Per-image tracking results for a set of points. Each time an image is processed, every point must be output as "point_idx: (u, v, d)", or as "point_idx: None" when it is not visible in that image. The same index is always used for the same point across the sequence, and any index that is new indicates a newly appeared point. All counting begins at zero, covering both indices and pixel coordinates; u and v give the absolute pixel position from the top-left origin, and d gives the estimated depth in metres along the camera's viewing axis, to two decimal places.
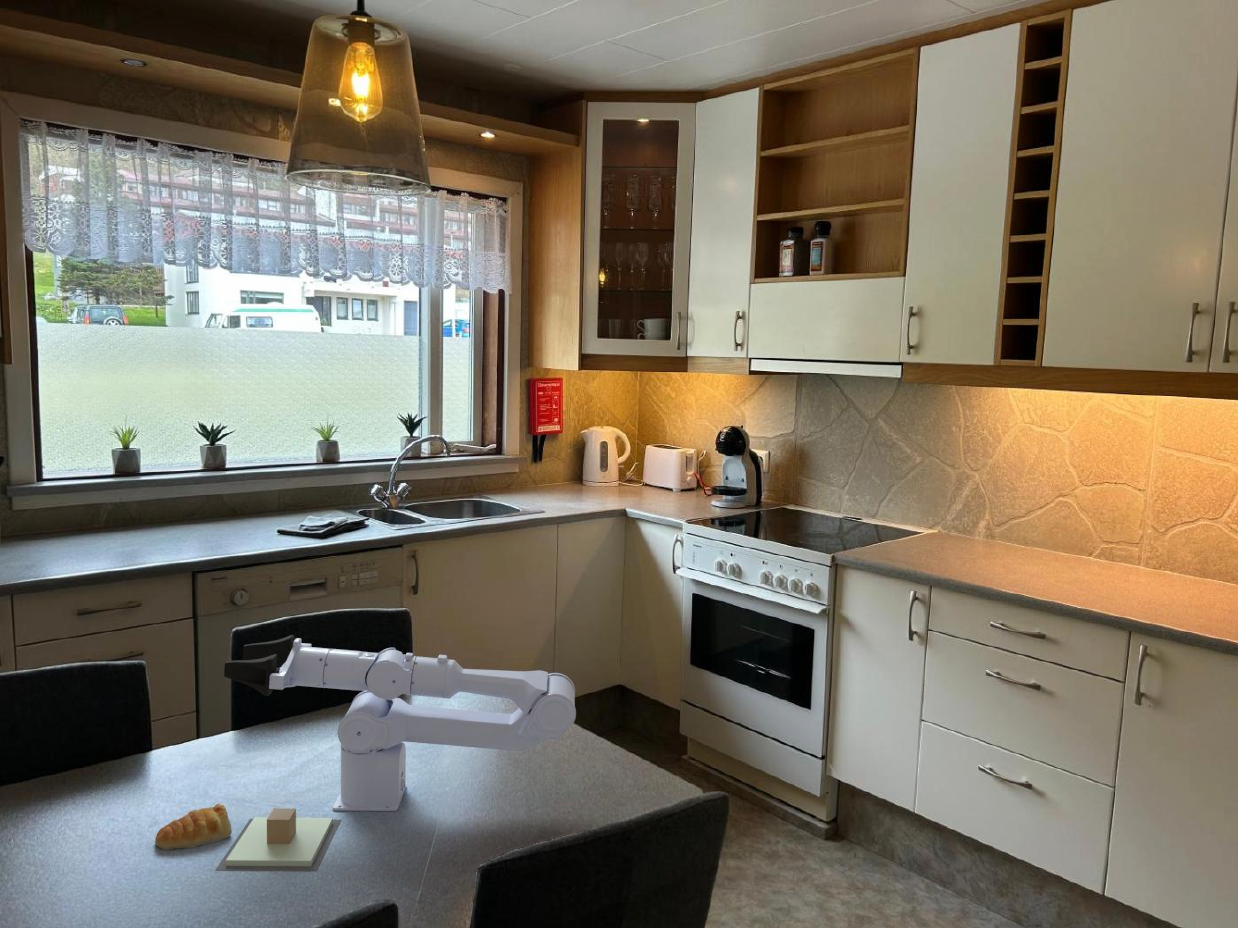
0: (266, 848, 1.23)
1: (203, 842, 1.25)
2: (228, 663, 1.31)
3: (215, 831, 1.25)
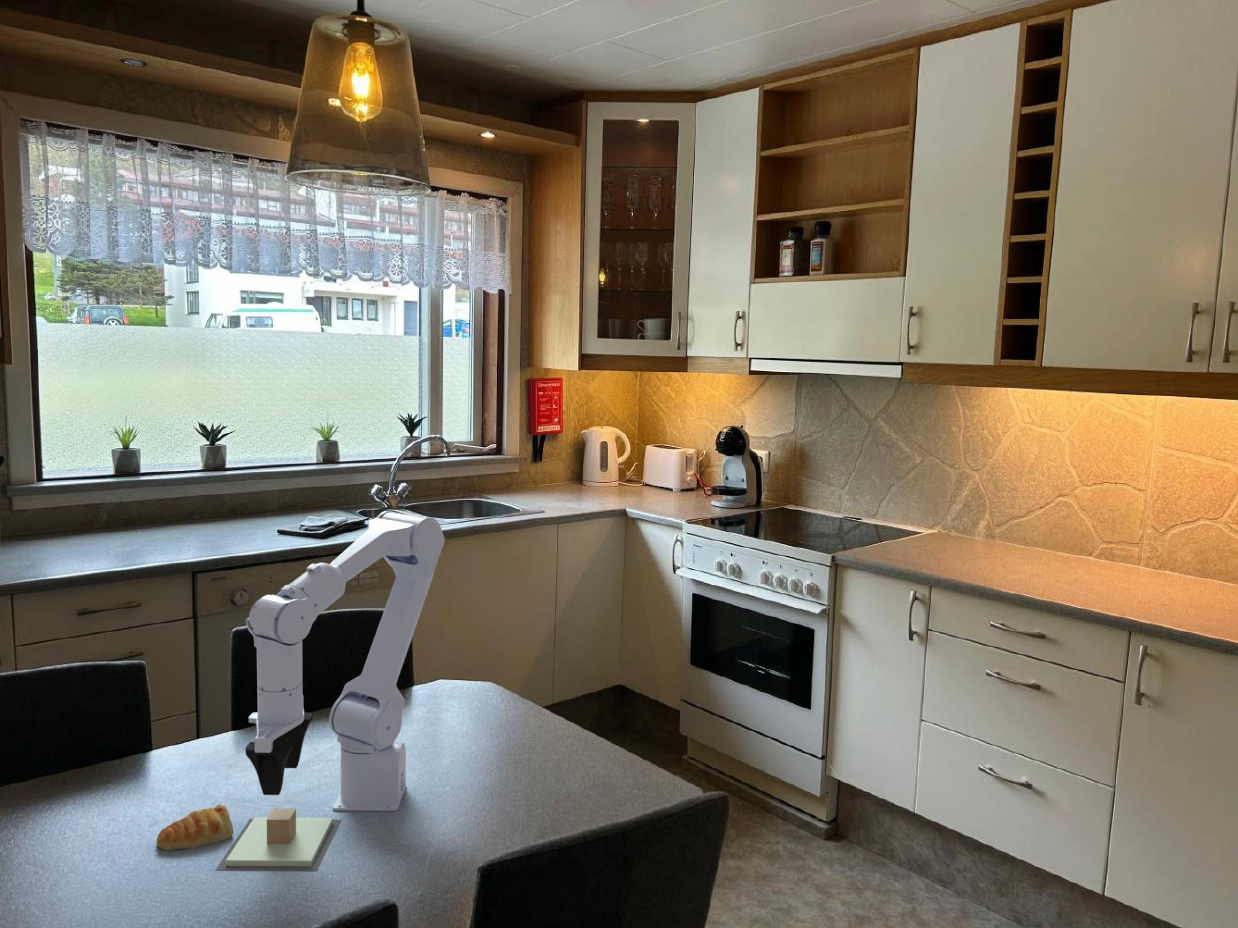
0: (266, 848, 1.23)
1: (205, 843, 1.24)
2: (263, 790, 1.20)
3: (217, 832, 1.25)
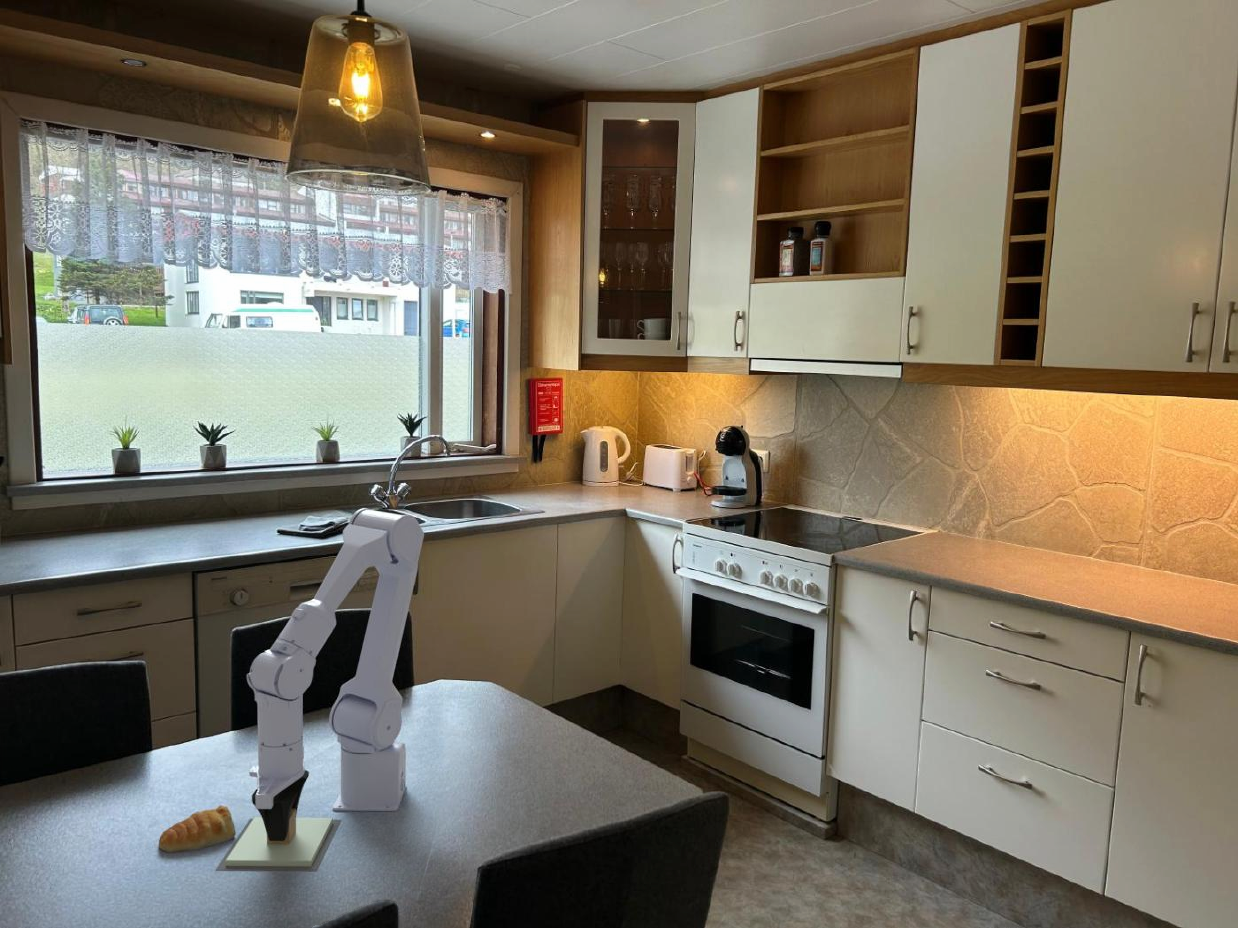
0: (266, 848, 1.23)
1: (207, 844, 1.24)
2: (269, 837, 1.23)
3: (219, 833, 1.25)
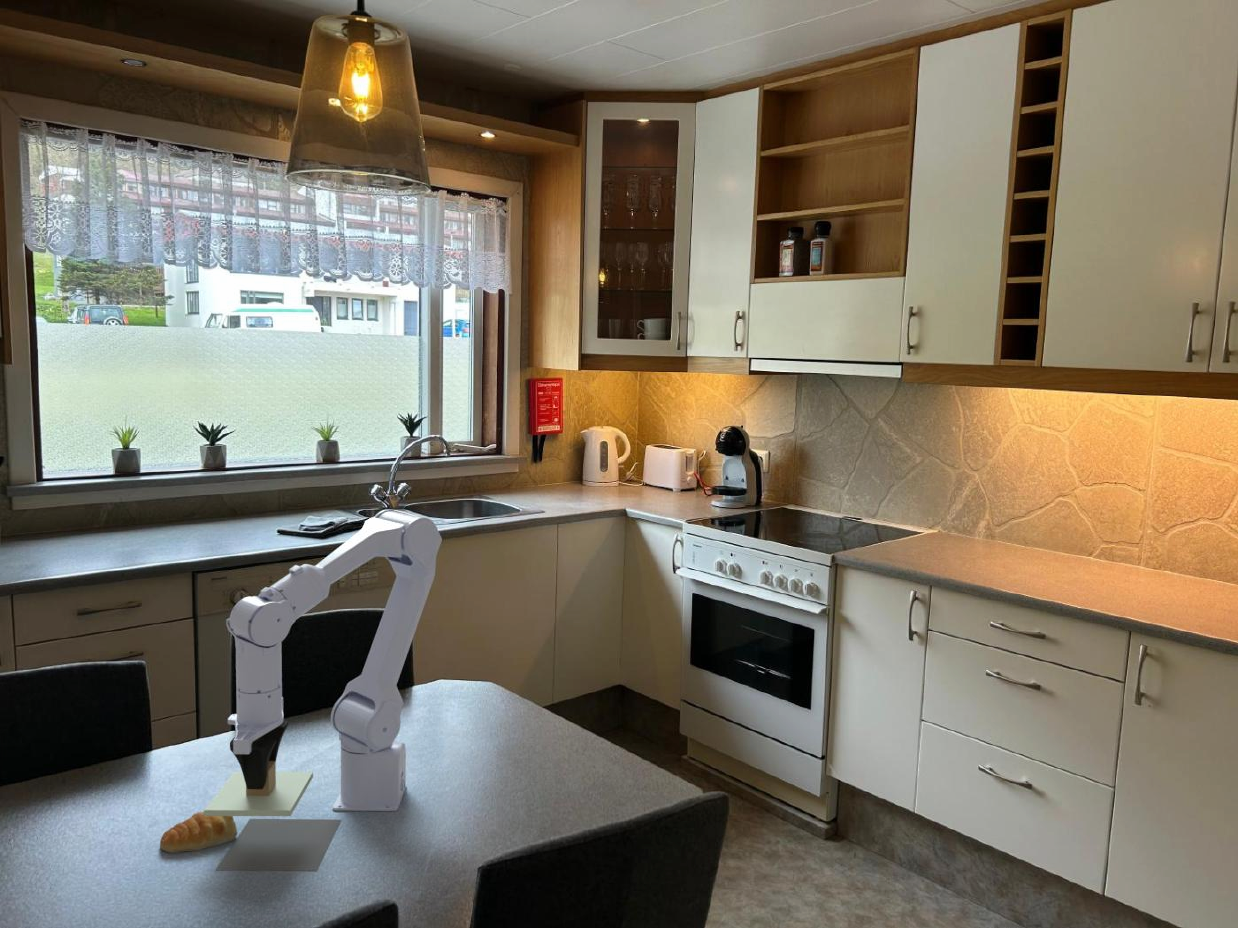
0: (245, 799, 1.22)
1: (209, 845, 1.24)
2: (247, 785, 1.22)
3: (221, 833, 1.25)
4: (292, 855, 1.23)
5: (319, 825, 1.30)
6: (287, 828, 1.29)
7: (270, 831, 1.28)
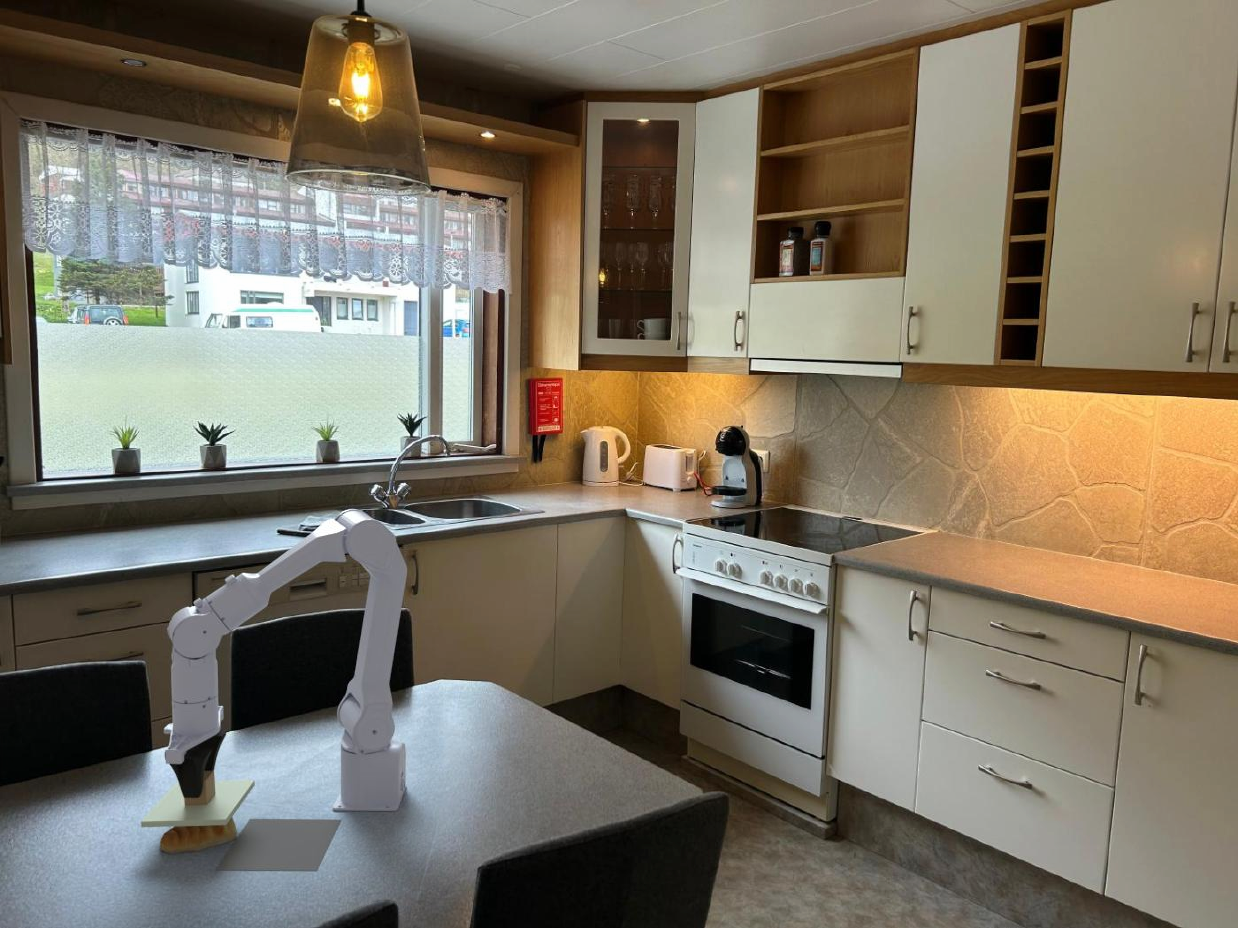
0: (183, 809, 1.24)
1: (209, 845, 1.24)
2: (183, 793, 1.24)
3: (221, 834, 1.25)
4: (292, 855, 1.23)
5: (319, 825, 1.30)
6: (287, 828, 1.29)
7: (270, 831, 1.28)
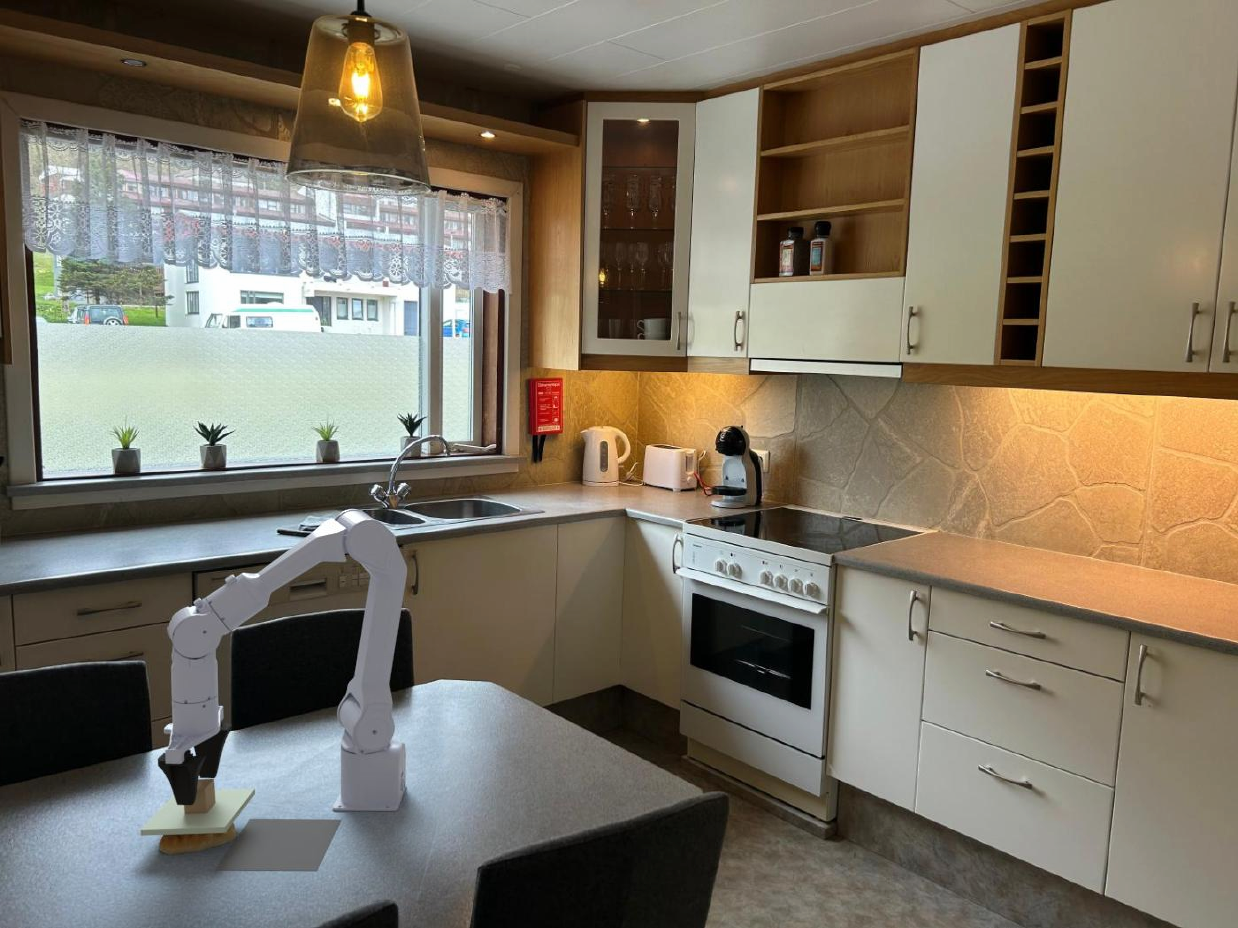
0: (183, 818, 1.23)
1: (208, 846, 1.24)
2: (176, 801, 1.22)
3: (220, 835, 1.24)
4: (292, 855, 1.23)
5: (319, 825, 1.30)
6: (287, 828, 1.29)
7: (270, 831, 1.28)
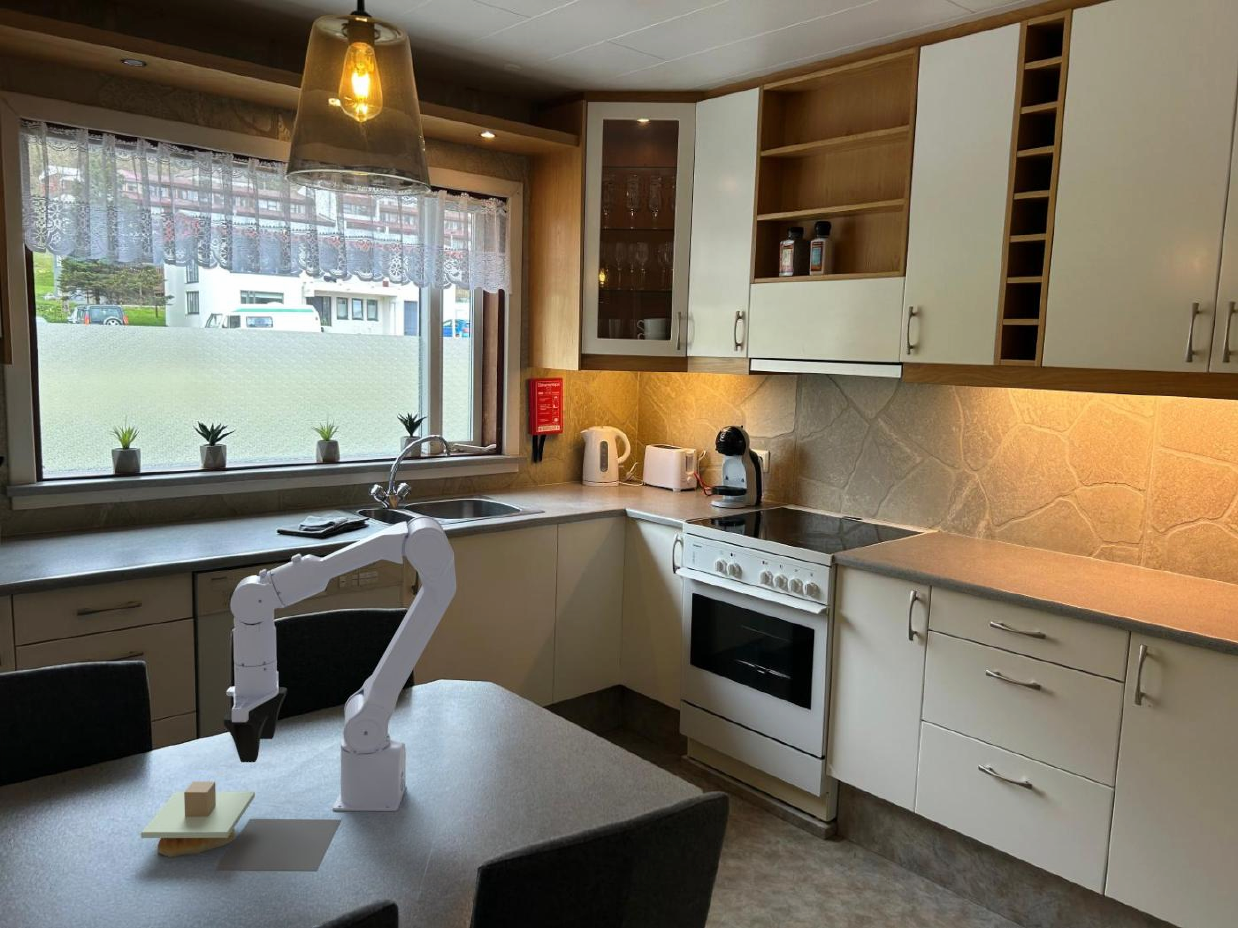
0: (183, 820, 1.23)
1: (207, 848, 1.23)
2: (240, 758, 1.29)
3: None
4: (292, 855, 1.23)
5: (319, 825, 1.30)
6: (287, 828, 1.29)
7: (270, 831, 1.28)
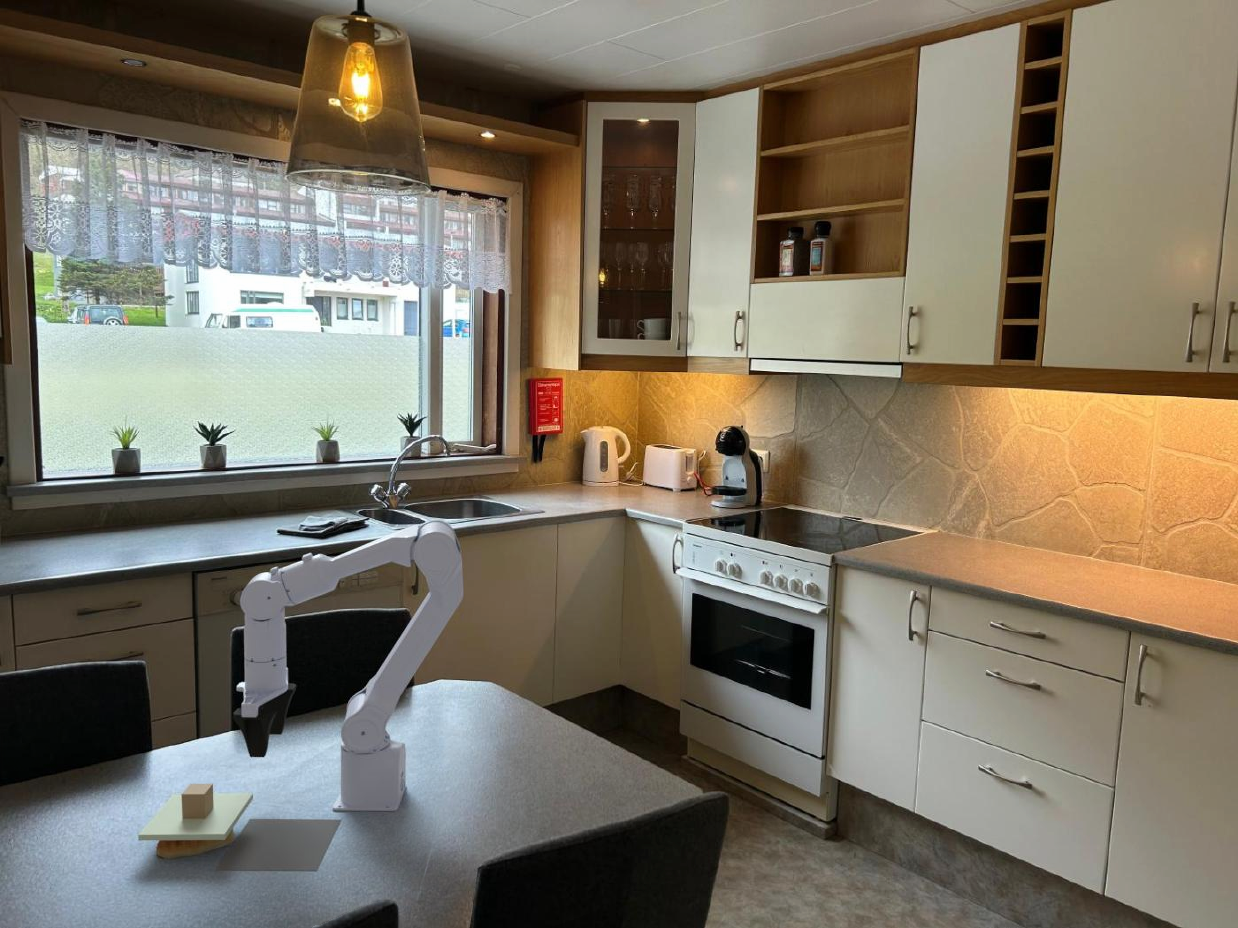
0: (181, 823, 1.22)
1: (206, 849, 1.23)
2: (249, 753, 1.31)
3: None
4: (292, 855, 1.23)
5: (319, 825, 1.30)
6: (287, 828, 1.29)
7: (270, 831, 1.28)
